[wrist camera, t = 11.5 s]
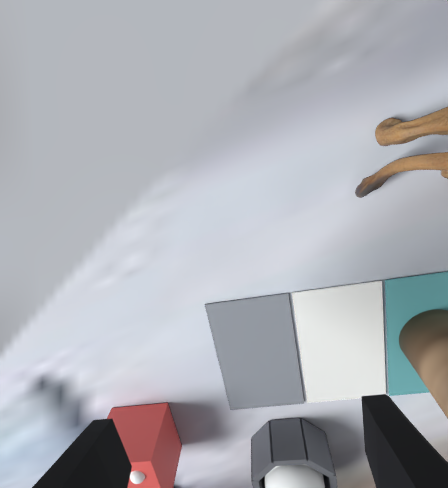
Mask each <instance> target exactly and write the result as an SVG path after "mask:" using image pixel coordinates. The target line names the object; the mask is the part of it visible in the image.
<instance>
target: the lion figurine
mask: <svg viewBox="0 0 448 488" xmlns="http://www.w3.org/2000/svg"><path fill="white" fill-rule="evenodd" d="M430 134H439V135H447V134H448V107H446V108H444V109H441V110H439V111H436V112H434V113H431V114H429V115H426V116H424V117H421V118H418V119H415V120H412V121H407V122H402V121H401V120H399V119H395V118H389V119H386V120H384V121H383V122H381V123H380V124H379V125H378V126H377V128H376V131H375V136H376V140H377V142H378V144H380V145H381V146H388V145H392V144H403V143H407V142H410V141H412V140H415V139H417V138H419V137H422V136H426V135H430ZM410 170H442V171H441V175H442V176H443V177H445V178H447V179H448V152H444V153H432V154H423V155H416V156H410V157H405V158H401V159H398V160H396V161H394V162H392V163H390V164H388V165H386V166H385V167H383V168H382V169H381V170H380V171H378V172H377V173H375V174H374V175H372V176H369V177H367V178H364V179H363V180H362V182H361V184H360V185H358V186H357V188H356V191H355V194H356V196H357V197H360V198H361V197H364V196H366V195H367V194H369V193H370V192H372V191H373V190H376V189H378V188H379V187H381V186H382V185H383V183H384V182H385V181H386V180H387V179H388V178H389V177H391V176H392V175H394V174H396V173H398V172H403V171H410Z"/></svg>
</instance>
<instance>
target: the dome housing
mask: <svg viewBox="0 0 448 488" xmlns="http://www.w3.org/2000/svg"><path fill="white" fill-rule="evenodd" d="M270 421H271V422H269V421H268V422H267V423H266V424H265V425H264V426H263V427H262V428H261V429H260V430H259V431H258V432H257V433H256V434H255V435H254V436H253V437H252V439H251V481H252V485H253V488H265V475H266V474H268V473H269V472H270V471H271V470H272V469H273V468H274V467H275V466H286V465H302V464H306V465H308V466H310V467H311V468H313V469H315V470H317V471H318V472H320V473H322V474H323V479H324V484H325V488H337V480H336V474H335V470H334V466H333V462H332V458H331V454H330V450H329V445H328V441H327V437H326V433H325V432H324V431H322V430H320V429H319V428H317V427H315V426H314V425H312V424H310V423H309V422H307V421H305V420H304V419H299V418H292V419H280V420H270Z"/></svg>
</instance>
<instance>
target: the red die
mask: <svg viewBox="0 0 448 488" xmlns="http://www.w3.org/2000/svg"><path fill="white" fill-rule="evenodd" d="M107 419H113V421H114V424H115V426H116V429H117V431H118V434H119V436H120V439H121V441H122V443H123V446H124V448H125V451H126V453H127V456H128V458H129V461H130V463H131V465H132V469H131V474H130V478H129V483H128V488H173V485H174V481H175V476H176V471H177V466H178V462H179V457H180V452H181V447H182V445H181V442H180V439H179V436H178V433H177V429H176V426H175V423H174V420H173V417H172V414H171V411H170V408H169V405H168V403H160V404H149V405H138V406H128V407H117V408H112V409H111V411H110V413H109V415H108V417H107Z"/></svg>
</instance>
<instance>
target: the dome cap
mask: <svg viewBox="0 0 448 488" xmlns="http://www.w3.org/2000/svg"><path fill="white" fill-rule="evenodd" d="M265 488H325V484H324V479H323V474H322V473H320V472H318V471H317V470H315V469H313V468H311V467H310V466H308V465H306V464H302V465H286V466H275V467H274V468H273V469H272V470H271V471H270V472H269V473H268V474H266V475H265Z"/></svg>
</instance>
